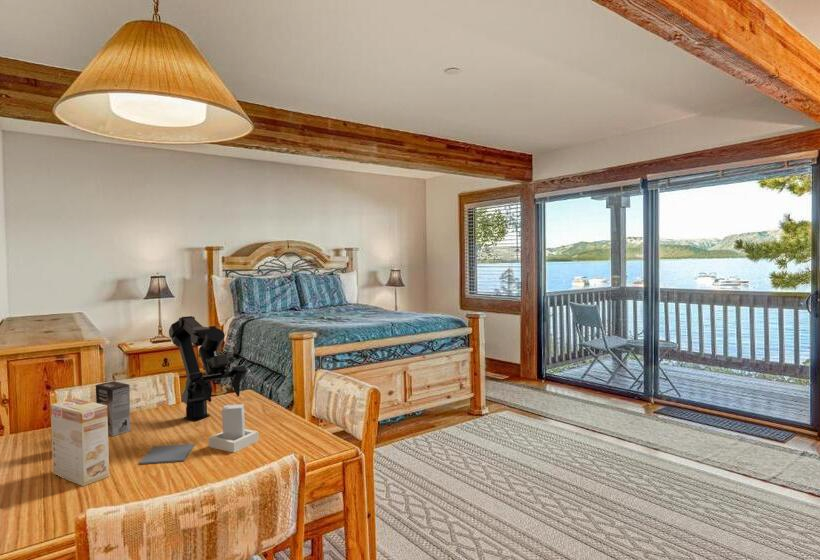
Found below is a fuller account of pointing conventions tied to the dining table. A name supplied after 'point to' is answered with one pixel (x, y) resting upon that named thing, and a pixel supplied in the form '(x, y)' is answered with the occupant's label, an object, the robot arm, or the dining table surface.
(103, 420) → the coffeecake box
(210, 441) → the white square frame
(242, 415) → the skincare box
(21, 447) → the dining table surface
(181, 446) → the mat
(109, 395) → the coffee box
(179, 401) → the dining table surface
